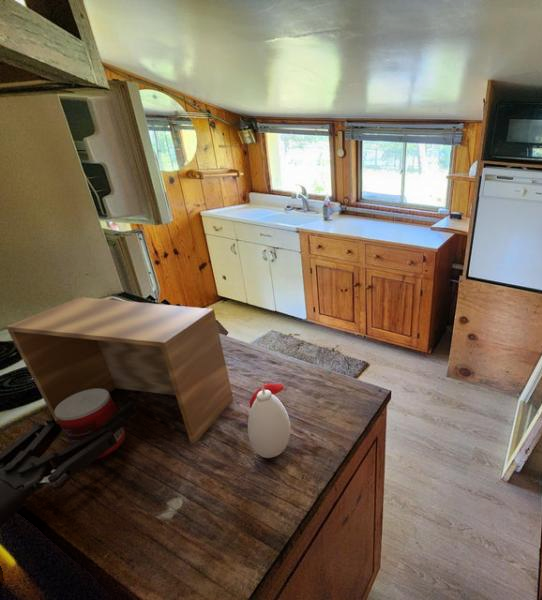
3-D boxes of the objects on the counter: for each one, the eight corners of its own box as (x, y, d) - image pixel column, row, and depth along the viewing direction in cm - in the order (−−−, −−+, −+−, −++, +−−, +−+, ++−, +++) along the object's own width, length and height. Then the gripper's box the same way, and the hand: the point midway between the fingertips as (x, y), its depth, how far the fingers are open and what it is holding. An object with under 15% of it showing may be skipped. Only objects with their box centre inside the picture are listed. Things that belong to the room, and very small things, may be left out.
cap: (260, 423, 74) (256, 402, 72) (246, 410, 77) (242, 390, 75) (290, 404, 80) (287, 384, 78) (276, 393, 83) (273, 374, 81)
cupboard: (57, 426, 71) (5, 326, 61) (115, 385, 84) (80, 296, 73) (195, 444, 68) (164, 342, 58) (233, 398, 81) (213, 309, 71)
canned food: (120, 423, 70) (103, 382, 65) (132, 443, 65) (114, 401, 61) (72, 445, 64) (50, 402, 60) (81, 469, 60) (57, 424, 55)
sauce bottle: (253, 442, 69) (240, 373, 62) (291, 433, 72) (283, 366, 64) (252, 473, 63) (237, 400, 55) (294, 462, 65) (285, 391, 58)
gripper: (-80, 523, 48) (75, 413, 69) (45, 543, 47) (166, 424, 67) (-111, 490, 45) (61, 385, 66) (22, 509, 44) (156, 395, 64)
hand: (114, 404), depth 67 cm, fingers closed on canned food, 8 cm apart
